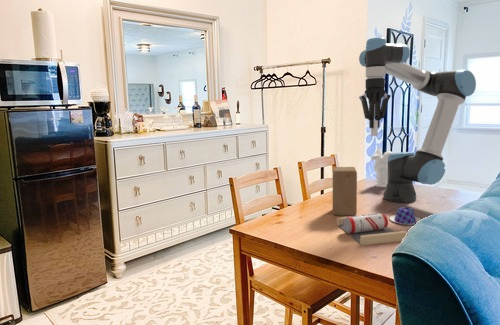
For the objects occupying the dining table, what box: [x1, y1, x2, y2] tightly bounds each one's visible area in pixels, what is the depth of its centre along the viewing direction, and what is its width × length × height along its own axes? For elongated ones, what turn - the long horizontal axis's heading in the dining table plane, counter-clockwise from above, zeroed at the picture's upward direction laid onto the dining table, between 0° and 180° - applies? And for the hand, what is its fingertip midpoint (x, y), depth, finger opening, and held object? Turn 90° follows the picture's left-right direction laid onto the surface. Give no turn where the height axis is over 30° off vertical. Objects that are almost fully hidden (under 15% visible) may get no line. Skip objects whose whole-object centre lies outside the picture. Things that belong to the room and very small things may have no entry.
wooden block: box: [332, 166, 358, 217], centre depth 163 cm, size 10×10×20 cm
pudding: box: [389, 206, 422, 226], centre depth 151 cm, size 12×12×5 cm
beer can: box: [343, 212, 389, 234], centre depth 140 cm, size 6×6×16 cm
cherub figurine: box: [370, 146, 394, 189], centre depth 207 cm, size 12×12×22 cm
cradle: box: [336, 216, 408, 246], centre depth 140 cm, size 17×22×3 cm
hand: (374, 135), depth 154 cm, fingers closed
